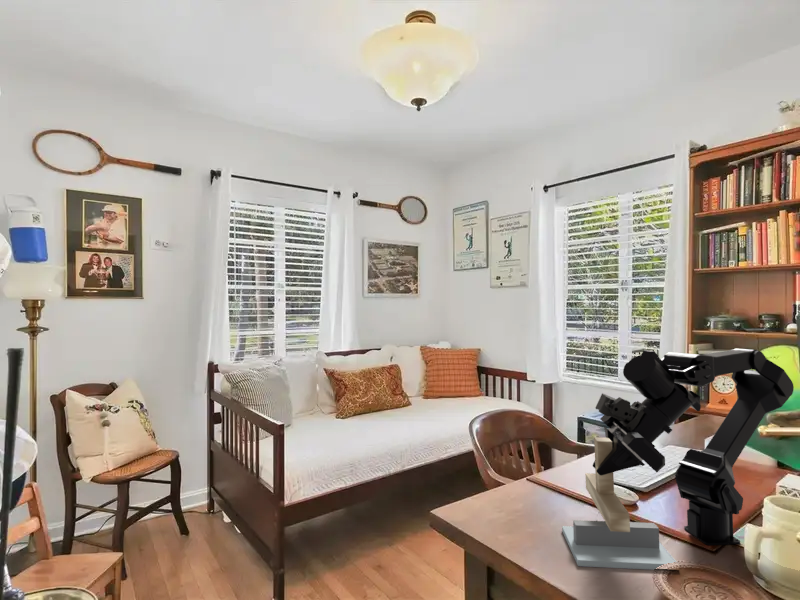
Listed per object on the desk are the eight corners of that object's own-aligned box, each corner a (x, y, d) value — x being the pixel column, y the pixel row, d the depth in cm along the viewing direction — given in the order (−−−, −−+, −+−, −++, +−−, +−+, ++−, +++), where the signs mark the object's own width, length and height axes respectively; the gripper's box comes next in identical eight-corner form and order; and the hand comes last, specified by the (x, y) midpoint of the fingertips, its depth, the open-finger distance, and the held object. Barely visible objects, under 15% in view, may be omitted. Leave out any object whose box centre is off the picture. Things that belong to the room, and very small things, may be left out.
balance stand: (649, 534, 87) (648, 510, 87) (679, 570, 75) (678, 543, 75) (562, 531, 89) (561, 508, 89) (578, 566, 77) (577, 539, 77)
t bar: (601, 488, 92) (599, 426, 93) (630, 532, 75) (627, 455, 75) (585, 488, 93) (583, 426, 93) (610, 531, 75) (607, 455, 75)
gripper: (609, 372, 93) (554, 425, 94) (641, 388, 74) (572, 455, 76) (652, 411, 91) (596, 465, 93) (696, 438, 73) (625, 504, 75)
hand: (596, 470), depth 84 cm, fingers closed on t bar, 2 cm apart
